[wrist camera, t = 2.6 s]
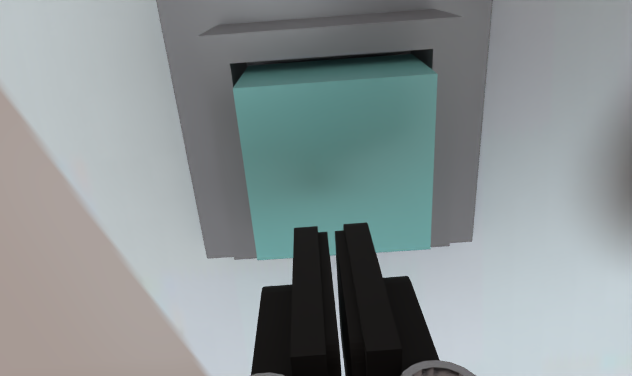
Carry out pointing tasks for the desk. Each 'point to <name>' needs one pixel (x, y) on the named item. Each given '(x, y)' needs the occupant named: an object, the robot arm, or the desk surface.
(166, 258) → the desk surface
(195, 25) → the button housing
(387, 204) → the button cap
